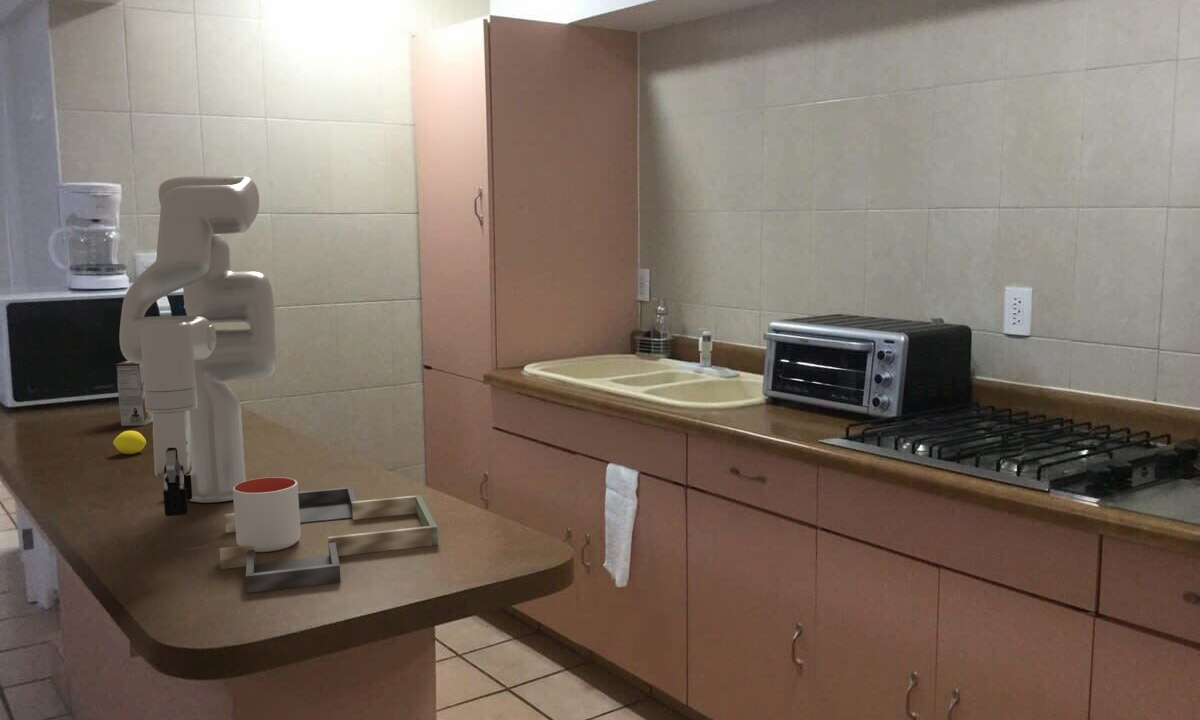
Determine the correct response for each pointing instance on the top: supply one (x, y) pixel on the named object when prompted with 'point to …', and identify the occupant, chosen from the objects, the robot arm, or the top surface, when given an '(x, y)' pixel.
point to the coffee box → (132, 394)
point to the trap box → (332, 539)
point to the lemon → (130, 442)
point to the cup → (267, 513)
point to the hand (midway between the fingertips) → (179, 507)
